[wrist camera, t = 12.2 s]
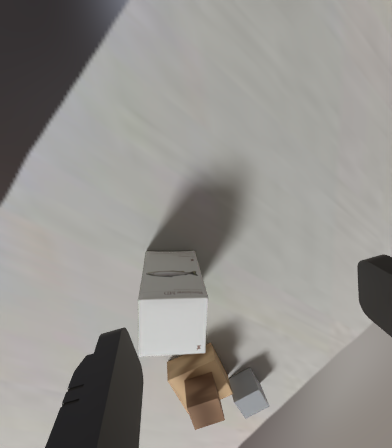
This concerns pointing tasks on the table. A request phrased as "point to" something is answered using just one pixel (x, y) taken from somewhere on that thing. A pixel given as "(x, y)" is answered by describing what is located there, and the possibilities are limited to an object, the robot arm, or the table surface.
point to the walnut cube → (203, 400)
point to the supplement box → (172, 305)
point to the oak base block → (197, 372)
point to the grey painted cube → (248, 393)
